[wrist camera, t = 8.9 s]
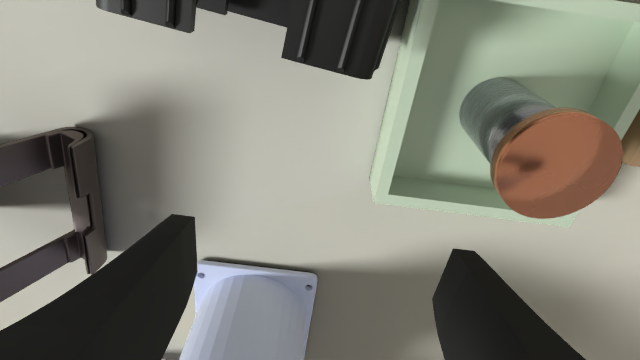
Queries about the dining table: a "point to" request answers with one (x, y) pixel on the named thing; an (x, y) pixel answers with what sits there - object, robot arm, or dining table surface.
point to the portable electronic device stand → (84, 194)
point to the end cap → (291, 26)
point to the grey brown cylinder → (540, 149)
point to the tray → (490, 62)
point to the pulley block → (632, 143)
